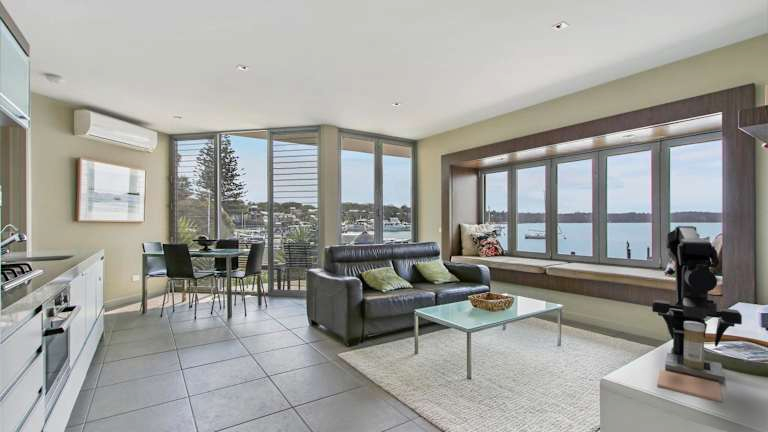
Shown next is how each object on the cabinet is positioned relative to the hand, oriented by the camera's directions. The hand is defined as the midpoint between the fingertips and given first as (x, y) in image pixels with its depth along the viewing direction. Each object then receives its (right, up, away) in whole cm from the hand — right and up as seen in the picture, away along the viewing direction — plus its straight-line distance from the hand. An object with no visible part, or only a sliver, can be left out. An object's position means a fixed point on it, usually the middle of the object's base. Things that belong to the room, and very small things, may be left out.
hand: (693, 342), depth 103 cm
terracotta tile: (-9, -8, -9) cm, 15 cm away
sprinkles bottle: (0, -8, 0) cm, 8 cm away
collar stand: (0, -8, 0) cm, 8 cm away
